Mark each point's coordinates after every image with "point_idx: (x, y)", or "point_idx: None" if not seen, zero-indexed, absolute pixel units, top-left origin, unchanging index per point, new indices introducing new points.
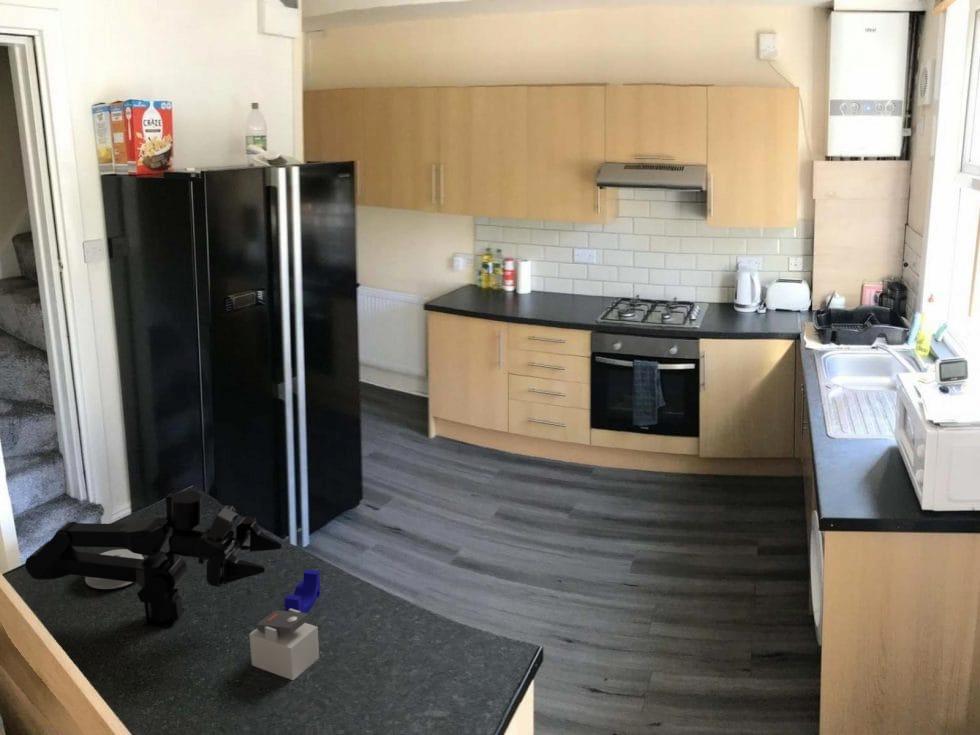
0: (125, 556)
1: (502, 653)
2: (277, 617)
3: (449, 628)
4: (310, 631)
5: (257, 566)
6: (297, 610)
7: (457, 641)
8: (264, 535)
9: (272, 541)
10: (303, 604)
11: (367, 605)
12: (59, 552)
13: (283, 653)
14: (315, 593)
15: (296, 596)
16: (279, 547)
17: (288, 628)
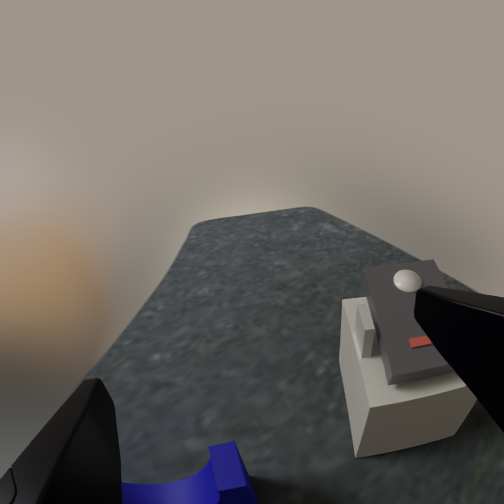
0: None
1: (203, 233)
2: (420, 329)
3: (168, 276)
4: (366, 298)
5: (461, 292)
6: (359, 311)
7: (195, 261)
8: (9, 494)
9: (81, 421)
10: (172, 497)
11: (123, 386)
12: None
13: None
14: None
15: (216, 457)
16: (109, 405)
17: (434, 263)
